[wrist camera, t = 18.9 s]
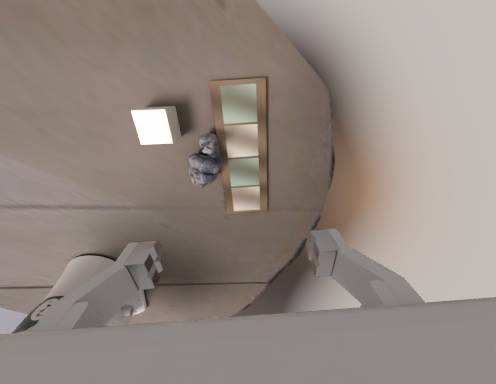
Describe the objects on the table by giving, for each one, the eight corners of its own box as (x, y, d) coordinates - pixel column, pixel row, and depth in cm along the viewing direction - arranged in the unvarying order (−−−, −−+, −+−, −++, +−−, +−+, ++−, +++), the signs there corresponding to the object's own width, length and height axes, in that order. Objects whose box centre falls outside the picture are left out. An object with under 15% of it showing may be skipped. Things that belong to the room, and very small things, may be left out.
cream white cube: (181, 136, 31) (172, 143, 27) (153, 137, 31) (141, 144, 27) (175, 105, 29) (165, 109, 25) (145, 107, 29) (130, 110, 25)
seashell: (194, 135, 26) (174, 186, 31) (230, 154, 27) (204, 200, 32) (205, 122, 30) (186, 169, 35) (236, 139, 31) (213, 183, 37)
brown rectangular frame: (266, 209, 39) (267, 211, 38) (227, 212, 39) (227, 214, 38) (265, 77, 28) (265, 77, 27) (209, 81, 28) (209, 81, 27)
